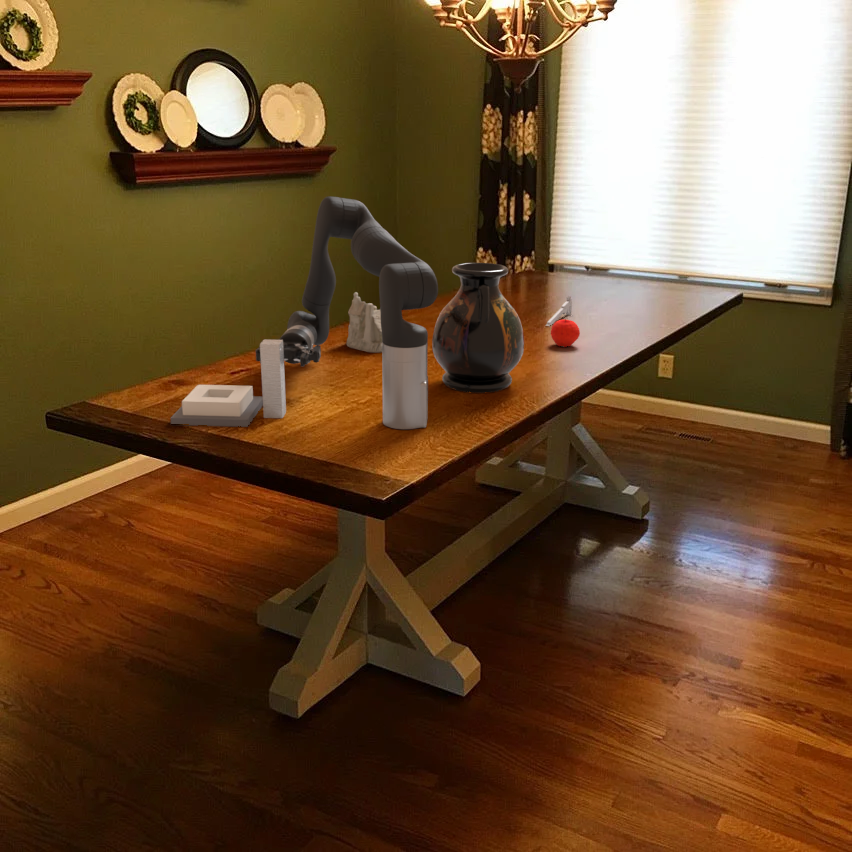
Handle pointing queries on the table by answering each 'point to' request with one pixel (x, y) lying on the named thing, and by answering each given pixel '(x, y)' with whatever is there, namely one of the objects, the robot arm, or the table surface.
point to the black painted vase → (478, 332)
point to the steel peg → (273, 378)
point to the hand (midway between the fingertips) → (282, 361)
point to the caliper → (562, 311)
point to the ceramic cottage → (364, 326)
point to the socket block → (219, 406)
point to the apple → (565, 332)
